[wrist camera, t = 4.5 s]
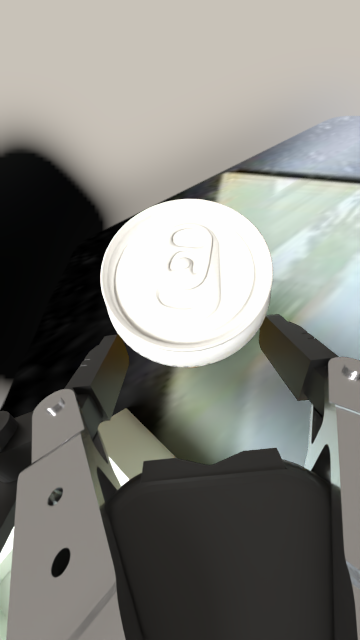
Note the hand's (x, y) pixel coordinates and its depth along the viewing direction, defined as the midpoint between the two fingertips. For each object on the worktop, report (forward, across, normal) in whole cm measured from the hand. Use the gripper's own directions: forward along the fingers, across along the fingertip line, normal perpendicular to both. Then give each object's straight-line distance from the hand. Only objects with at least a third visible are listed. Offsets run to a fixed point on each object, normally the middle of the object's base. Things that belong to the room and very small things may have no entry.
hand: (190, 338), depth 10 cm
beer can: (+8, 0, +6) cm, 10 cm away
